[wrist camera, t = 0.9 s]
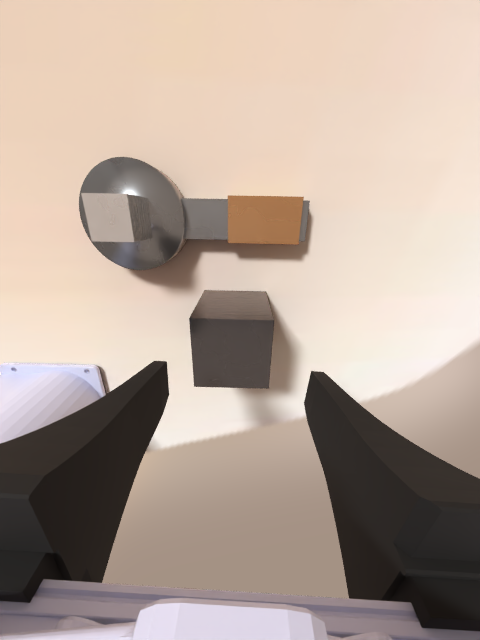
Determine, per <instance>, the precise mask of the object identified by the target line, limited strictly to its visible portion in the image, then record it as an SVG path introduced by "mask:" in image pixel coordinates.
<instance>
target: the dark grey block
mask: <svg viewBox="0 0 480 640" xmlns="http://www.w3.org/2000/svg"><path fill="white" fill-rule="evenodd" d="M189 320H190V334H191V347H192V361H193V375H194V387H230V388H269V377H270V364H271V352H272V340H273V327H274V318H273V315H272V311H271V308H270V304H269V301H268V297H267V294H266V292H258V291H212V290H205V291H204V293H203V294H202V296H201V298H200V300H199V302H198V304H197V305H196V307H195V309H194V311H193V313H192V314H191V316H190V318H189Z"/></svg>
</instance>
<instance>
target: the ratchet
mask: <svg viewBox="0 0 480 640" xmlns="http://www.w3.org/2000/svg"><path fill="white" fill-rule="evenodd" d="M303 198H304V197H279V196H228V199H185V198H183V196H182V194H181V192H180V190H179V189H178V187H177V186H176V185H175V184H174V182H173V181H172V180H171V179H170V178H169V177H168V176H167V175H165V174H164V173H162V172H161V171H159V170H158V169H156V168H154V167H152V166H150V165H149V164H147V163H145V162H143V161H140V160H138V159H133V158H128V157H115V158H111V159H107V160H105V161H103V162H101V163H99V164H98V165H96V166H95V167H94V168H93V169H92V170H91V171H90V172H89V174H88V175H87V176H86V178H85V180H84V182H83V185H82V187H81V191H80V197H79V211H80V216H81V220H82V224H83V227H84V229H85V231H86V233H87V235H88V237H89V239H90V240H91V242H92V243H93V245H94V246H95V247H96V248H97V249H98V250H99V251H100V252H101V253H102V254H103V255H104V256H105V257H106V258H108V259H109V260H111V261H112V262H114V263H116V264H118V265H120V266H122V267H125V268H129V269H133V270H147V269H152V268H155V267H158V266H160V265H162V264H164V263H165V262H167V261H169V260H171V259H172V258H173V257H175V256H176V255H177V254H178V253H179V251H180V250H181V249H182V247H183V245H184V244H185V241H186V239H218V240H228V243H252V244H299V241H305V236H306V227H307V219H308V211H309V202H310V201H303Z"/></svg>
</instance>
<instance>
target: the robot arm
mask: <svg viewBox="0 0 480 640" xmlns="http://www.w3.org/2000/svg"><path fill="white" fill-rule="evenodd" d="M87 369H88V370H89V371H88V370H87ZM0 373H1V375H0V640H480V479H478V478H476V477H474V476H472V475H470V474H468V473H466V472H464V471H462V470H460V469H458V468H456V467H454V466H452V465H451V464H449V463H447V462H445V461H443V460H441V459H439V458H438V457H436V456H434V455H432V454H431V453H429V452H427V451H425V450H424V449H422V448H420V447H419V446H417V445H415V444H414V443H412V442H410V441H409V440H407V439H406V438H404V437H403V436H401V435H399V434H398V433H397V432H395V431H394V430H392V429H391V428H389V427H388V426H387V425H385V424H384V423H382V422H381V421H380V420H378V419H377V418H376V417H374V416H373V415H372V414H371V413H369V412H368V411H367V410H366V409H364V408H363V407H362V406H361V405H360V404H358V403H357V402H356V401H355V400H354V399H353V398H352V397H350V396H349V395H348V394H347V393H346V392H345V391H344V390H343V389H342V388H341V387H339V386H338V385H337V384H336V383H335V382H334V381H333V380H332V379H331V378H330V377H329V376H327V375H326V374H325V373H324V372H314V371H311V375H310V379H309V384H308V388H307V393H306V397H305V402H304V405H305V411H306V416H307V421H308V425H309V427H310V430H311V434H312V437H313V440H314V443H315V446H316V449H317V452H318V455H319V458H320V461H321V464H322V467H323V471H324V474H325V478H326V481H327V486H328V490H329V494H330V499H331V503H332V508H333V513H334V518H335V522H336V527H337V532H338V538H339V543H340V548H341V553H342V558H343V565H344V570H345V576H346V582H347V588H348V594H349V599H347V598H331V597H315V596H299V595H284V594H269V593H252V592H237V591H222V590H221V591H220V590H205V589H189V588H175V587H158V586H143V585H128V584H112V583H102V580H103V577H104V573H105V570H106V566H107V563H108V560H109V557H110V553H111V550H112V546H113V543H114V540H115V537H116V533H117V530H118V527H119V524H120V521H121V518H122V514H123V511H124V508H125V505H126V502H127V499H128V496H129V493H130V491H131V488H132V485H133V482H134V479H135V476H136V474H137V471H138V468H139V465H140V463H141V460H142V458H143V456H144V454H145V451H146V449H147V447H148V445H149V443H150V441H151V438H152V436H153V434H154V432H155V430H156V428H157V426H158V423H159V421H160V419H161V417H162V414H163V412H164V409H165V406H166V403H167V399H168V396H169V388H168V374H167V362H164V361H153V362H152V363H151V364H149V365H148V366H146V367H145V368H144V369H142V370H141V371H140V372H138V373H137V374H136V375H134V376H133V377H131V378H130V379H129V380H127V381H126V382H124V383H123V384H122V385H120V386H119V387H117V388H115V389H114V390H112V391H111V392H109V393H108V394H106V393H105V389H104V385H103V382H102V378H101V374H100V370H99V368H98V367H97V366H95V365H69V364H29V363H3V364H1V365H0Z"/></svg>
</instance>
